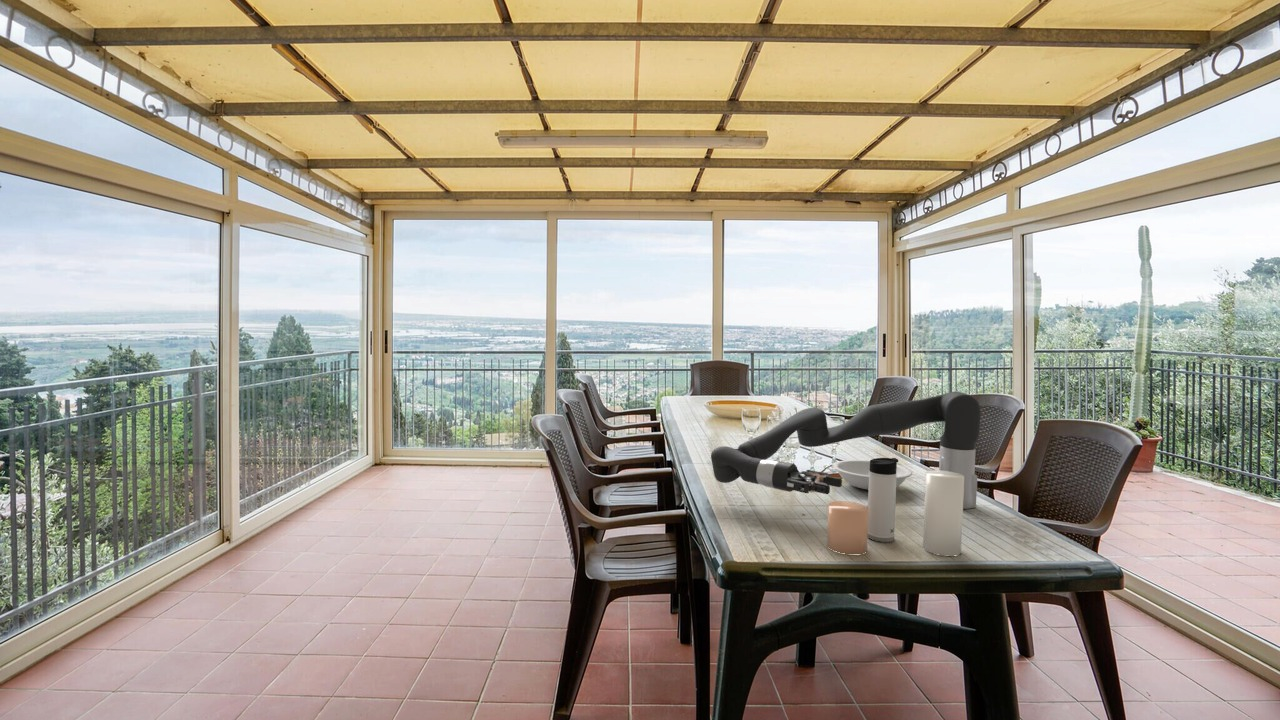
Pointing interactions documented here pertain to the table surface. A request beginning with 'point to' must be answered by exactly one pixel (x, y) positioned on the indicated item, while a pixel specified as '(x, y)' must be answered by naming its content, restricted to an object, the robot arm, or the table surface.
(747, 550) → the table surface
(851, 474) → the soup bowl
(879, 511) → the travel mug
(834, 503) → the peach rounded cylinder
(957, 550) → the tall white cylinder
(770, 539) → the table surface
